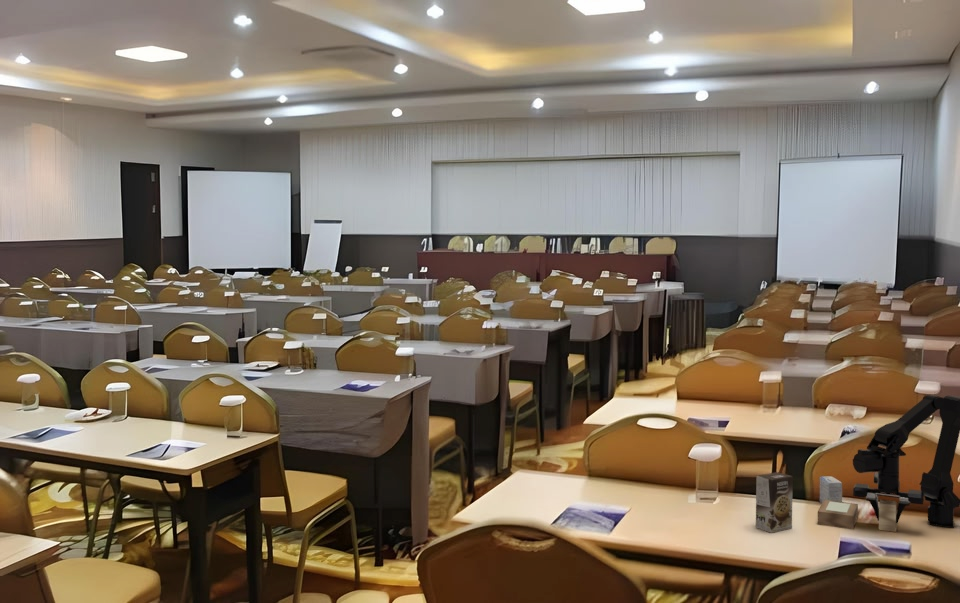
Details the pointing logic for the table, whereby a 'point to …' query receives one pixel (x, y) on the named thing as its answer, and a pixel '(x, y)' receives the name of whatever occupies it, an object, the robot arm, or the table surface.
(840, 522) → the walnut base
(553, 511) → the table surface
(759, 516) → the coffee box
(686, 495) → the table surface
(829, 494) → the medicine box
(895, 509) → the maple block
